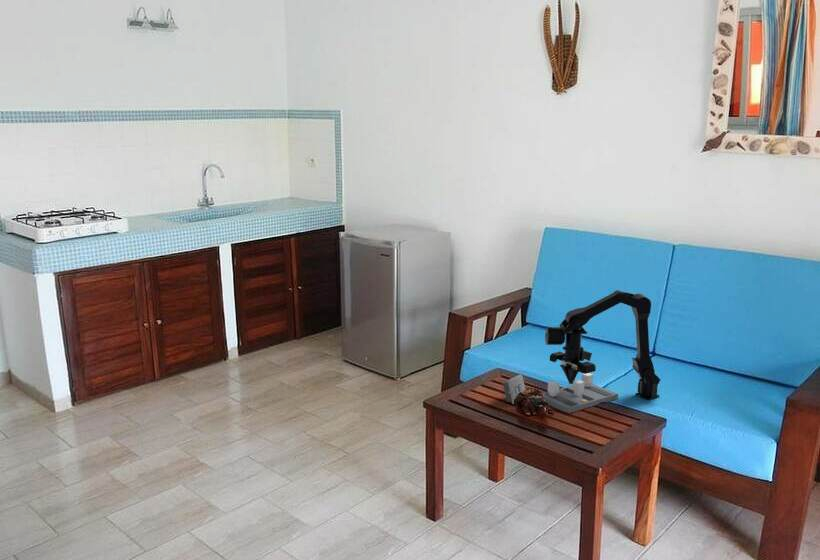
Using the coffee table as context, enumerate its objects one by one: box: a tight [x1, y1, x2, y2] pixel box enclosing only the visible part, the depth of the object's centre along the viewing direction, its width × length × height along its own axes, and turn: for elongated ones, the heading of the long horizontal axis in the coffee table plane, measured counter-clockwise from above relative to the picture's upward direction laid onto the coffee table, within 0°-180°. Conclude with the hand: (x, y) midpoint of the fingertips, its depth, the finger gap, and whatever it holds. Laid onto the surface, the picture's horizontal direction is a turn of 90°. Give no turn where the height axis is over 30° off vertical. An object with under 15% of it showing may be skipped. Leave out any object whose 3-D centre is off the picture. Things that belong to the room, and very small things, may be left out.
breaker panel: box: [541, 372, 619, 414], centre depth 269 cm, size 16×26×7 cm, turn 123°
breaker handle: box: [572, 379, 585, 398], centre depth 269 cm, size 3×3×6 cm
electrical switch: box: [502, 374, 526, 405], centre depth 267 cm, size 9×5×9 cm, turn 141°
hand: (571, 383), depth 272 cm, fingers closed
